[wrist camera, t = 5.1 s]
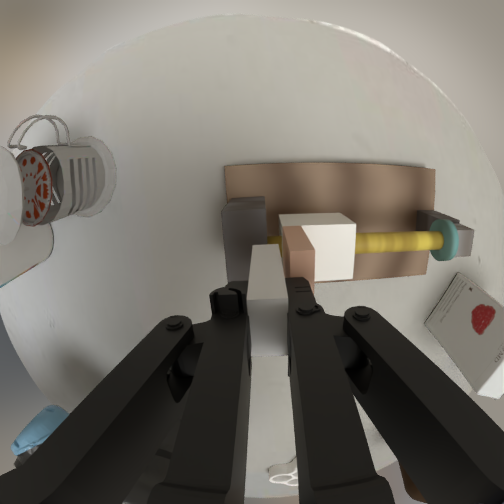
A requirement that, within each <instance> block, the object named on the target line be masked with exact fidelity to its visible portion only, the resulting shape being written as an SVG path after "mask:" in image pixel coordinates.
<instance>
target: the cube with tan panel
mask: <svg viewBox="0 0 504 504" xmlns="http://www.w3.org/2000/svg"><path fill="white" fill-rule="evenodd" d="M279 236H282V258H281V261H282V266H283V272H284V277H285V278H292V277H304V278H305V279H306V280H308V281H309V283H310V286H311V289H312V292H313V295H314V281H330V280H345V279H353V269H354V256H355V239H356V223H354V222H353V221H351V220H350V219H348V218H347V217H346V216H344V215H343V214H341V213H308V214H279Z"/></svg>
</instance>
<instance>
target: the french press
mask: <svg viewBox="0 0 504 504" xmlns="http://www.w3.org/2000/svg"><path fill="white" fill-rule="evenodd" d="M32 118H38V119H36V120H34V121H33V122H32V123H31V124H30V125H29V126H28V127H27V128H26V129H25V130H24V131H23V133H22V135H21V137H20V139H19V140H18V143H17V145H10V141H11V139H12V137H13V135H14V133H15V132H16V131H17V130H18V128H19V127H20V126H21V125H22V124H23V123H25V122H26V121H28V120H30V119H32ZM42 119H47V120H48V121H50V122H51V123H52V124H53V125H54V127H55V130H56V137H57V143H58V145H52V146H37V147H33V148H32V149H29V150H24V149H26V148H27V147H26V146H23V145H20V142H21V140H22V138H23V136H24V134H25V133H26V132H27V130H28V129H29V128H30V127H31V126H32V125H33V124H34V123H36V122H37V121H39V120H42ZM51 119H56V120H58V121H59V122H60V123H62V124H63V125H64V127H65V130H66V134H67V143H60V141H59V133H58V129H57V126H56V124H55V122H54V121H53V120H51ZM8 147H9V148H18V149H19V150H24V151H23V152H22V153H21V154H20V155H18V156H17V157H16V159H15V157H14V155H13V154H12V153H11V152H10V151H8V150H7V149H5V148H4V147H2V146H0V244H1V245H7V244H8V243H10V242H11V241H13V240H14V239H15V237H16V235H17V233H18V231H19V229H20V227H21V224H22V223H23V224H24V225H25V226H33V227H34V226H36V225H45V224H48V223H50V222H53V221H56V220H58V219H61V218H64V217H66V216H69V215H72V214H75V215H77V216H81V217H91V216H93V215H95V214H97V213H99V212H101V211H102V210H103V209H104V207H105V206H106V205H107V204H108V203H109V201H110V200H111V197H112V194H113V191H114V188H115V186H116V166H115V163H114V159H113V156H112V152H111V151H110V150H109V149H108V147H107V146H106V145H105V144H104V142H103V141H101V140H99V139H96V138H94V137H92V136H89V137H80V138H78V139H77V140H75V141H74V142H72V143H70V139H69V131H68V128H67V125H66V124H65V123H64V121H63V120H62V119H60V118H59V117H57V116H51V115H45V116H43V115H33V116H30V117H28V118H27V119H25V120H23V121H22V122H20V124H19V125H18V126H17V127H16V128H15V130H14V131H13V133H12V134H11V136H10V138H9V140H8ZM44 152H47V153H46V154H45V155H44V156H43V155H42V154H43V153H44ZM51 152H54V153H53V154H52V155H51V156H50V157H49V158H48V159H47V161H46V160H45V158H46V157H47V156H48V155H49V154H50V153H51ZM54 155H56V157H55V158H54V160H53V161H52V163H51V165H50V168H49V165H48V164H49V162H50V160H51V159H52V157H53V156H54ZM52 185H53V187H54V190H55V192H56V194H57V196H58V198H59V200H60V202H61V203H59V204H58V202H57V200H56V198H55V196H54V194H53V192H52ZM51 199H52V201H53V203H54V205H52V206H51V204H50V203H51Z"/></svg>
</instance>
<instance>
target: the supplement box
mask: <svg viewBox="0 0 504 504" xmlns="http://www.w3.org/2000/svg"><path fill="white" fill-rule="evenodd" d="M424 324H425V326H426V327H427V328H428V329H429V331H430V332H431V333H432V334H433V335H434V337H435V338H436V339H437V340H438V342H439V343H440V344H441V346H442V347H443V348H444V349H445V351H446V352H447V353H448V355H449V356H450V357H451V359H452V360H453V361H454V363H455V364H456V365H457V367H458V368H459V370H460V371H461V372H462V374H463V375H464V377H465V378H466V379H467V381H468V382H469V384H470V385H471V387H472V388H473V389H474V391H475V392H476V394H479V395H483V396H488V397H492V398H496V399H499V398H500V397H501V396H502V395H503V393H504V307H503V306H502V305H501V304H500V303H499V302H497V301H496V300H495V299H494V298H493V297H491V296H490V295H489V294H487V293H486V292H485V291H484V290H482V289H481V288H480V287H478V286H477V285H476V284H474V283H473V282H472V281H470V280H469V279H468V278H466V277H465V276H463V275H462V274H460V273H457V275H456V277H455V278H454V280H453V282H452V283H451V285H450V286H449V288H448V290H447V291H446V293H445V294H444V296H443V297H442V299H441V300H440V302H439V303H438V305H437V306H436V308H435V309H434V311H433V312H432V313H431V315H430V316H429V318H428V319H427V320H426V322H425V323H424Z"/></svg>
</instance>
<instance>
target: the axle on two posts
mask: <svg viewBox="0 0 504 504" xmlns="http://www.w3.org/2000/svg"><path fill="white" fill-rule="evenodd" d="M224 167H225V181H226V195H227V205H226V206H225V207H224V209H223V210H222V211H221V214H222V226H223V237H224V248H225V259H226V269H227V279H228V283H229V282H231V281H247V280H249V274H250V265H251V256H252V247H253V245H266V244H278V245H279V250H280V255H281V258H282V236H279V214H308V213H341V214H343V215H344V216H346V217H347V218H348V219H350V220H351V221H353V222H354V223H356V239H355V256H354V269H353V279H345V280H330V281H314V283H326V282H341V281H355V280H368V279H381V278H392V277H403V276H414V275H424V274H426V270H427V264H428V258H429V251H430V252H431V254H432V256H433V257H434V258H435V259H436V260H437V261H448V260H451V259H453V258H454V257H464V256H471V250H472V244H473V237H474V230H473V229H471V228H468V227H466V226H464V225H462V224H459V222H460V220H457V219H455V218H452V217H450V216H447V215H445V214H442V213H439V212H437V211H434V200H435V169H428V168H419V167H408V166H396V165H382V164H362V163H271V164H250V165H235V166H224Z"/></svg>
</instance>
